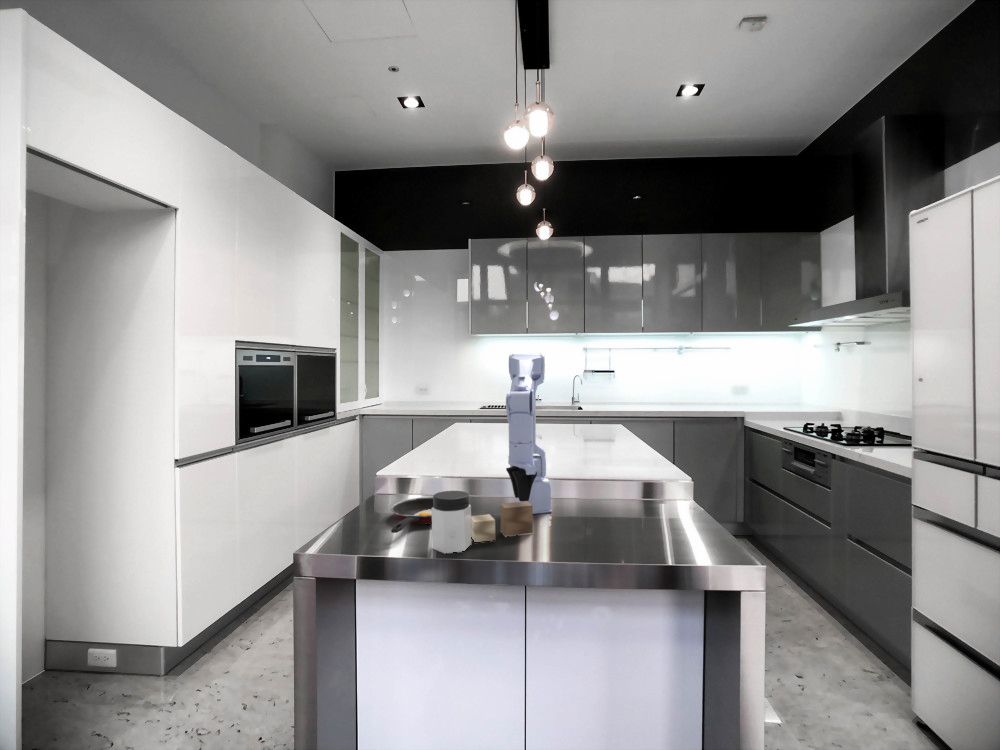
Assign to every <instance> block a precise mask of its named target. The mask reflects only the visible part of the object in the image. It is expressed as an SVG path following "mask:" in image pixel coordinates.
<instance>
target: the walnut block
mask: <svg viewBox="0 0 1000 750" xmlns="http://www.w3.org/2000/svg"><path fill="white" fill-rule="evenodd" d="M499 509H500V510H499V511H500V532H502V533H503V534H502V533H501V534H502V535H503V536H504V537H505V538H507V536H509V537H515V536H516V535H518V536H524V535H533V534H534V530H533V529H534V528H533V527H534V525H533V524H534V519H533V516H534V514H533V506H532V505H531V504H530V503H529V502H527V501H526V502H516V501H515V502H505V503H500V508H499Z"/></svg>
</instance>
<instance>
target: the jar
mask: <svg viewBox="0 0 1000 750" xmlns="http://www.w3.org/2000/svg"><path fill="white" fill-rule="evenodd" d="M432 497H433V507H432V524H431V538H432V539H431V541H432V542H431V544H432V545H431V546H432V547H431V548H432V549H433V550H435V551H437V552H439V553H441V554H446V553H447V554H454V553H453V552H457V553H463V552H462V551H465V550H466V549H467V548H468V547H469V546H470V545H471V546H472V539H471V516H472V505H471V504H470V494H469V493H468V492H466V491H462V490H446V491H445V490H444V491H440V492H437V493H434V494H433V496H432ZM471 546H470V547H471ZM470 547H469V548H470ZM469 548H468V549H469ZM466 551H467V550H466ZM466 551H465V552H466Z"/></svg>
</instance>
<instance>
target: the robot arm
mask: <svg viewBox="0 0 1000 750" xmlns="http://www.w3.org/2000/svg"><path fill="white" fill-rule="evenodd" d="M545 367H546V362H545V354H543V352H540V353H510V355H509V356H508V372H509V373H508V374H509V376H510V381H511V384H510V389H509V390H510V391H509V393H506V396H505V411H506V416H507V423H508V465H509V466H510V467H506V468H505V469H506V472H507V474H508V476H509V478H510V482H511V486H512V490H513V494H514V497H515V502H526V501H527V502H529V503H530V504H531V505H532V506H533V515H534V514H547V513H553V510H552V493H551V491H552V488H551V483H550V480H549V479H548V478H547V457H546V451H545V449H544V448H543V447H541V446H540V445H539V444H538V443H537V441H536V440H537V434H536V433H537V431H536V430H537V422H536V421H537V419H536V416H537V415H536V414H537V413H536V411H537V409H536V408H537V407H536V405H537V404H536V401H537V399H536V396H537V395H536V393H537V390H538V387H539V386H540V385H541V384H543V383H544V381H545V371H546V369H545Z"/></svg>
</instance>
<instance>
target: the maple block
mask: <svg viewBox="0 0 1000 750" xmlns="http://www.w3.org/2000/svg"><path fill="white" fill-rule="evenodd" d="M471 537H472V539H473V540H474V542H481V541H490V542H494V541H493V540H495V541H496V519H495V518H494V517H493V516H492V515H491V514H477V515H471ZM472 539H471V540H472ZM473 540H472V541H473ZM474 542H473V543H474ZM481 543H482V542H481Z"/></svg>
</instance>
